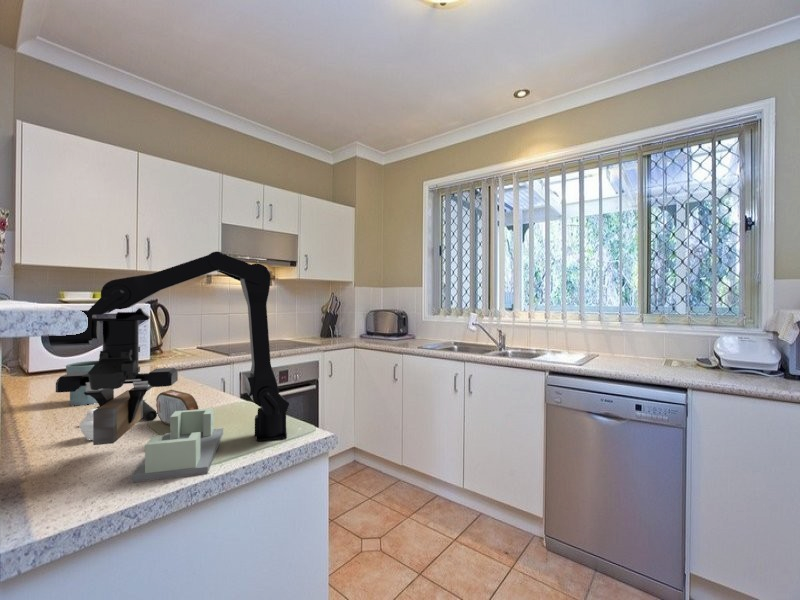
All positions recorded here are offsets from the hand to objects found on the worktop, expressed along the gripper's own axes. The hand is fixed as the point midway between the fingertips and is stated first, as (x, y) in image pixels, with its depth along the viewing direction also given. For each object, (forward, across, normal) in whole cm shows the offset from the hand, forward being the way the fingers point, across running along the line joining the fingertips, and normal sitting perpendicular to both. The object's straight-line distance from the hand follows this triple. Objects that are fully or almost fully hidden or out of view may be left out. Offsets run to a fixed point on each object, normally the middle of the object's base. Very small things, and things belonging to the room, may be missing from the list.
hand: (120, 423), depth 76 cm
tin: (+8, +5, +21) cm, 23 cm away
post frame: (+7, +11, 0) cm, 13 cm away
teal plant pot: (+8, -26, +53) cm, 59 cm away
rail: (+1, 0, 0) cm, 1 cm away
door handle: (+8, -11, +33) cm, 36 cm away
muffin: (+8, -10, +16) cm, 20 cm away
